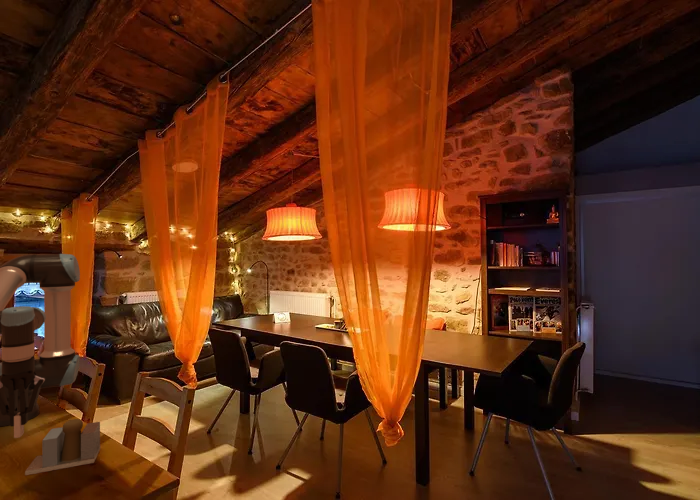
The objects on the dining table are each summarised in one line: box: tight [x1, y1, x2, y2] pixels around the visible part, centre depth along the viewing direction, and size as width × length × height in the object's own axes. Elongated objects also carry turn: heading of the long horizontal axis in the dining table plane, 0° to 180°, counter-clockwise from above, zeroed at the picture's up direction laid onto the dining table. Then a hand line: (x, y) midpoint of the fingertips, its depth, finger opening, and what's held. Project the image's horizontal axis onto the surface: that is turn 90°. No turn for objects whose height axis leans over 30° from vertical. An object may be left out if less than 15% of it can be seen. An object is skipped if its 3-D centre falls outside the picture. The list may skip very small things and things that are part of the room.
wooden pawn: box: [61, 418, 84, 461], centre depth 120 cm, size 6×6×11 cm
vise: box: [24, 421, 101, 476], centre depth 119 cm, size 9×17×9 cm, turn 113°
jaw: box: [41, 426, 65, 467], centre depth 118 cm, size 8×4×8 cm, turn 23°
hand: (19, 435), depth 116 cm, fingers closed
